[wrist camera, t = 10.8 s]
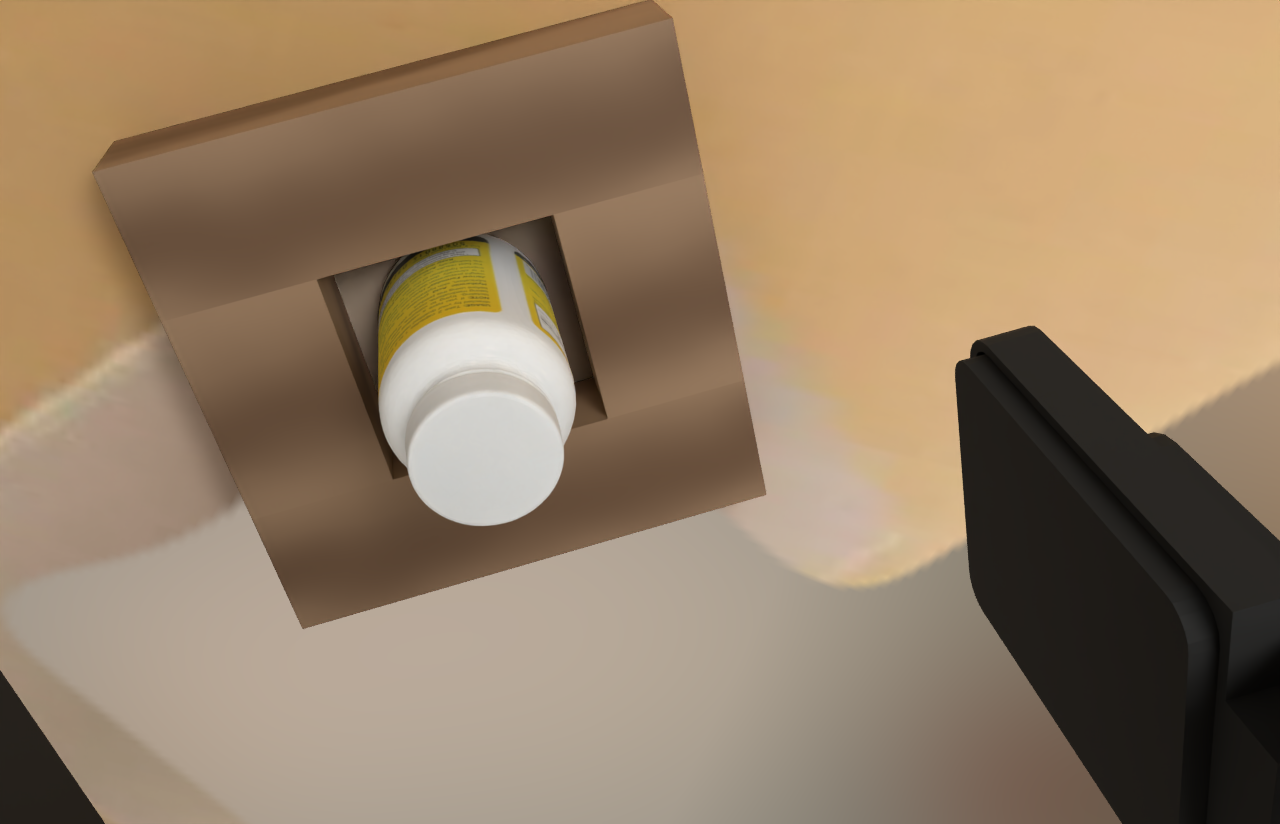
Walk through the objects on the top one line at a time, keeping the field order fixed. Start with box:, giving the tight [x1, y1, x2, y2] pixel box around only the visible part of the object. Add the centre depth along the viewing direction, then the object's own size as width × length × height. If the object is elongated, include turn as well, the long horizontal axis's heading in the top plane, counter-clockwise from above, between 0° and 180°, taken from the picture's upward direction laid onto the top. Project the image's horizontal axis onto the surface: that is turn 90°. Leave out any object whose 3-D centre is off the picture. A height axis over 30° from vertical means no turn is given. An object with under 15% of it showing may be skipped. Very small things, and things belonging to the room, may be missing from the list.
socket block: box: [92, 0, 766, 629], centre depth 38 cm, size 16×16×3 cm
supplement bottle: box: [378, 234, 576, 526], centre depth 35 cm, size 5×5×10 cm
